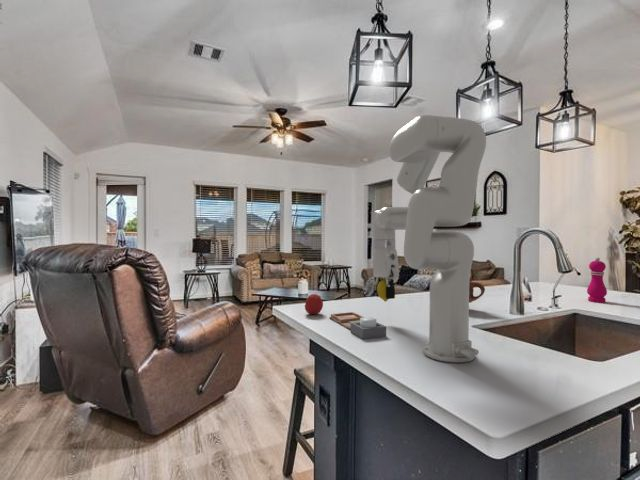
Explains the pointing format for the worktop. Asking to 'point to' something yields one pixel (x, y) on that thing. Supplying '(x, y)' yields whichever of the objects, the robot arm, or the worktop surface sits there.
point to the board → (346, 319)
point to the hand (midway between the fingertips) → (385, 296)
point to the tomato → (313, 304)
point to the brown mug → (471, 286)
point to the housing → (368, 331)
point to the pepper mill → (597, 282)
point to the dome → (367, 322)
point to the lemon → (382, 289)
